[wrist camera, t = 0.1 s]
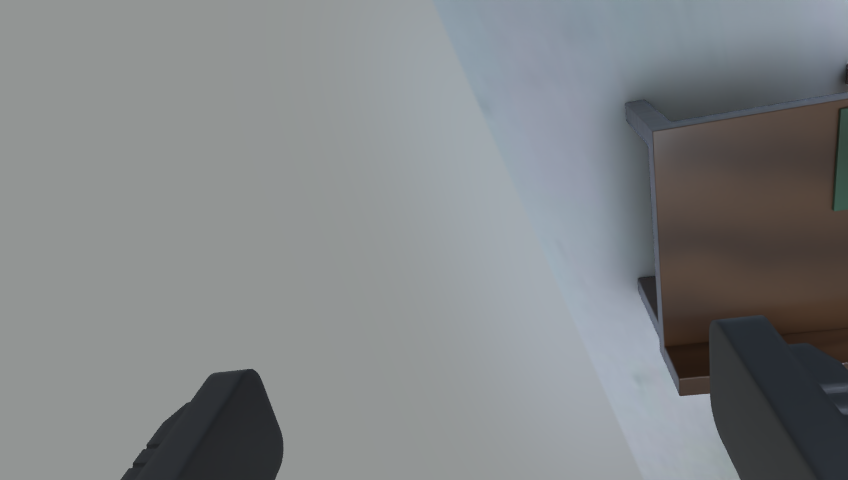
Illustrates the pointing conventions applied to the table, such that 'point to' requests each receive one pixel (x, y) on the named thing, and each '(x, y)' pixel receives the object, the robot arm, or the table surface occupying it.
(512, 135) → the table surface
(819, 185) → the small wooden table
